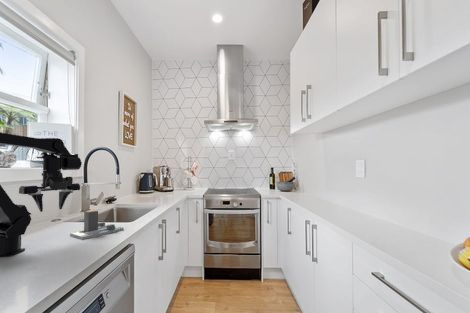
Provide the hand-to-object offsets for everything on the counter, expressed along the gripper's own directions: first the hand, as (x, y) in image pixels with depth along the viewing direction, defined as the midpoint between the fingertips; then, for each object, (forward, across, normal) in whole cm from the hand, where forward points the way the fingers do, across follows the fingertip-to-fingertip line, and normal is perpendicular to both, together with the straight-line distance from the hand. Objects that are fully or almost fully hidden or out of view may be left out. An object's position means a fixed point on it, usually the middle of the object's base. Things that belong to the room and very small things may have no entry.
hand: (51, 210), depth 98 cm
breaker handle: (+11, +14, -3) cm, 18 cm away
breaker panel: (+12, +17, -3) cm, 21 cm away
